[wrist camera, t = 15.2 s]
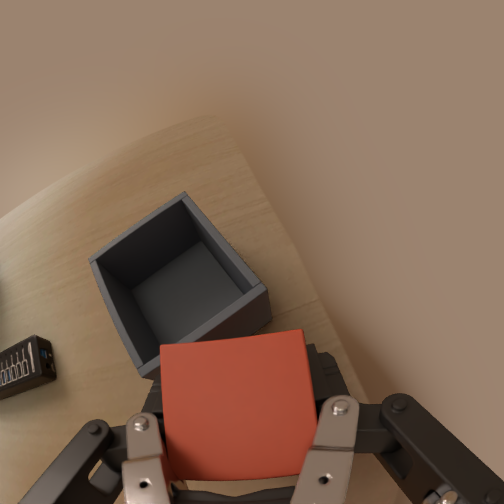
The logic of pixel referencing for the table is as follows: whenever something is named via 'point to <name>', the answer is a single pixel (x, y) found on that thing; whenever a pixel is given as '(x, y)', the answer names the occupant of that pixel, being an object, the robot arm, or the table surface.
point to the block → (238, 407)
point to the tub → (177, 284)
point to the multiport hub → (26, 366)
